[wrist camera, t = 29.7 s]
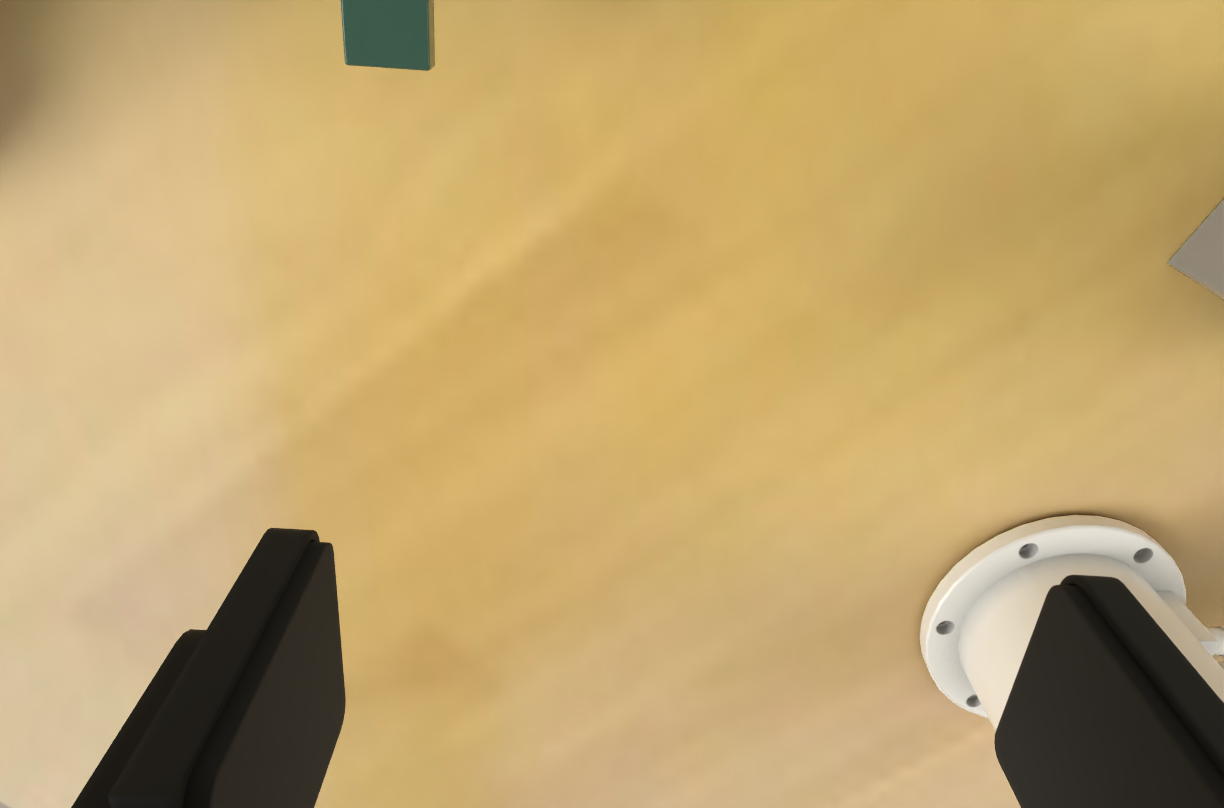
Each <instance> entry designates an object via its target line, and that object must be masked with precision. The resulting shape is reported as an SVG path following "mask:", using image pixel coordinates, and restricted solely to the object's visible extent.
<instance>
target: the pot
mask: <svg viewBox="0 0 1224 808" xmlns="http://www.w3.org/2000/svg"><path fill="white" fill-rule="evenodd" d="M341 11H342V26H343V41H344V55H345V63H346V65H353V66H367V67H382V68H396V69H411V70H425V71H428V70H430V69H432V68H433V67H434V66H435V46H434V3H433V0H341Z"/></svg>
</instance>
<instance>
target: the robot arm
mask: <svg viewBox="0 0 1224 808" xmlns="http://www.w3.org/2000/svg"><path fill="white" fill-rule="evenodd" d="M920 644H921V651H922V656H923V658H924V661H925V663H926V665H927V668H928V670H929V673H930V675H931V676H932V678H933V680H934V681H935V683H936V685H937V686H938V688H939V689H940V690H941V691H942V692H943V693H944V694H945V695H946V696H947V697H948V698H949V699H950V700H951V701H952V702H954V703H955V704H957V705H958V706H960V707H961V708H963V709H965V710H967V711H969V712H972V713H975V714H977V715H980V716H983V717H985V718H989V720H990V722H991V724H992V726H993V728H994V730H995V731H996V733H995V751H996V755H997V758H998V761H999V763H1000V765H1001V767H1002V769H1003V771H1004V773H1005V775H1006V777H1007V780H1008V782H1009V784H1010V786H1011V788H1012V790H1013V792H1014V794H1015V796H1016V798H1017V800H1018V802H1019V804H1020V806H1021V808H1224V662H1221V661H1216V660H1215V659H1214V658H1213V656H1214V655H1219V656H1224V627H1215V628H1206V626H1205V625H1204V624H1202V623H1201V622H1200V621H1199V620H1198V619H1197V618H1196V617H1195V615H1194V614H1193V613H1192V612H1191V611H1190V610H1189V609H1188V608H1187V607H1186V590H1185V585H1184V581H1183V576H1182V574H1181V572H1180V570H1179V568H1178V567H1177V565H1176V563H1175V561H1174V560H1173V558H1172V557H1171V556H1170V555H1169V554H1168V553H1167V552H1166V551H1165V550H1164V549H1163V548H1162V546H1161V545H1160V544H1159V543H1158V542H1157V541H1156V540H1154V539H1153V538H1152V537H1150V536H1149V535H1148V534H1146V533H1145V532H1144V531H1142V530H1141V529H1139V528H1136V527H1134V526H1132V525H1130V524H1128V523H1125V522H1123V521H1120V520H1115V519H1111V518H1106V517H1102V516H1089V515H1069V516H1060V517H1051V518H1046V519H1042V520H1038V521H1034V522H1031V523H1027V524H1023V525H1020V526H1018V527H1016V528H1013V529H1011V530H1009V531H1006V532H1004V533H1001V534H999V535H997V536H995V537H994V538H992V539H990V540H989V541H987V542H985V543H984V544H982V545H980V546H979V547H977V548H975V549H974V550H973V551H971V552H970V553H969V554H968V555H967V556H965V557H964V558H963V559H962V560H960V561H959V562H958V563H957V564H956V565H955V566H954V567H953V568H952V569H951V570H950V571H949V572H948V574H947V575H946V576H945V577H944V578H943V579H942V580H941V581H940V583H939V584H938V586H937V588H936V589H935V591H934V593H933V594H932V596H931V597H930V599H929V601H928V604H927V606H926V609H925V612H924V615H923V617H922V622H921V630H920ZM344 713H345V687H344V674H343V662H342V649H341V637H340V624H339V612H338V600H337V587H336V575H335V562H334V551H333V547H332V544H331V543H325V542H320V541H319V536H318V534H317V532H316V531H314V530H299V529H281V528H270V529H268V530H267V531H266V532H265V534H264V535H263V537H262V539H261V540H260V542H259V544H258V545H257V547H256V549H255V550H254V552H253V554H252V555H251V557H250V559H249V560H248V562H247V564H246V565H245V567H244V569H243V570H242V572H241V574H240V575H239V577H238V579H237V580H236V582H235V584H234V585H233V587H232V589H231V590H230V592H229V594H228V595H227V597H226V599H225V600H224V602H223V604H222V605H221V607H220V609H219V610H218V612H217V614H216V615H215V617H214V619H213V620H212V622H211V624H210V625H209V627H208V629H207V630H192V629H190V630H189V631H187V632H185V633H183V634H182V636H181V637H180V638H179V639H178V641H177V642H176V643H175V645H174V646H173V648H172V649H171V651H170V653H169V654H168V656H167V657H166V659H165V660H164V662H163V664H162V665H161V667H160V668H159V670H158V672H157V673H156V675H155V676H154V678H153V679H152V681H151V683H150V684H149V686H148V687H147V689H146V690H145V692H144V694H143V695H142V697H141V698H140V700H139V702H138V703H137V705H136V706H135V708H134V709H133V711H132V713H131V714H130V716H129V717H128V719H127V720H126V722H125V724H124V725H123V727H122V728H121V730H120V732H119V733H118V735H117V736H116V738H115V739H114V741H113V743H112V744H111V746H110V747H109V749H108V750H107V752H106V754H105V755H104V757H103V758H102V760H101V762H100V763H99V765H98V766H97V768H96V769H95V771H94V773H93V774H92V776H91V777H90V779H89V780H88V782H87V784H86V785H85V787H84V788H83V790H82V791H81V793H80V795H79V796H78V798H77V799H76V801H75V803H74V804H73V806H72V807H71V808H314V806H315V803H316V800H317V797H318V794H319V791H320V789H321V786H322V783H323V780H324V777H325V774H326V771H327V768H328V765H329V763H330V760H331V757H332V754H333V751H334V748H335V745H336V742H337V739H338V736H339V734H340V731H341V727H342V724H343V719H344Z"/></svg>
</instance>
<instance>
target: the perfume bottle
mask: <svg viewBox="0 0 1224 808" xmlns="http://www.w3.org/2000/svg"><path fill="white" fill-rule="evenodd" d="M1168 264H1169V265H1171V266H1172V267H1174V268H1175V269H1177V270H1178V271H1180V272H1181V273H1183V274H1185V275H1186V276H1188V277H1189V278H1191V279H1192V280H1194V281H1195V282H1197V283H1198V284H1200V285H1201V286H1203V287H1204V288H1206V289H1208V290H1209V291H1211V292H1212V293H1214V294H1215V295H1217V296H1218V297H1220V298H1221V299H1223V300H1224V199H1223V200H1222V201H1221V202H1220V204H1219V205H1218V206H1217V207H1216V208H1215V209H1214V210H1213V211H1212V213H1211V214H1210V215H1209V216H1208V217H1207V218H1206V219H1205V221H1204V222H1203V223H1202V224H1201V225H1200V226H1199V227H1198V228H1197V230H1196V231H1195V232H1194V233H1193V234H1192V235H1191V236H1190V238H1189V239H1188V240H1187V241H1186V242H1185V243H1184V244H1183V246H1182V247H1181V248H1180V249H1179V250H1178V251H1177V252H1176V253H1175V255H1174V256H1173V257H1172V258H1171V259H1170V260H1169V261H1168Z"/></svg>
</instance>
